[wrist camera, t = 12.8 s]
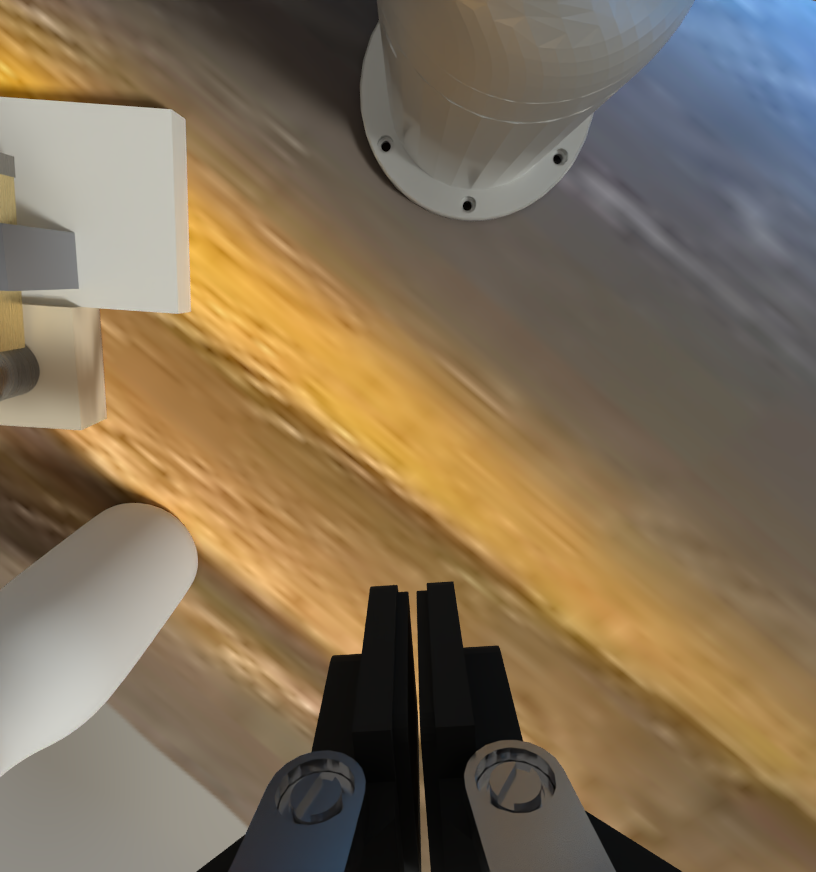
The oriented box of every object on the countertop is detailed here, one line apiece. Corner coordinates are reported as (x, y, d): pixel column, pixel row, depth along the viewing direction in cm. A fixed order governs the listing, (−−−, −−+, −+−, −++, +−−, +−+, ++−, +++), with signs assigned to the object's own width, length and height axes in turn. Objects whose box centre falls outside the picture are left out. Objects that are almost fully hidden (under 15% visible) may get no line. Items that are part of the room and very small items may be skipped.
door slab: (-87, 99, 32) (-243, 43, 25) (185, 119, 33) (115, 70, 25) (-61, 294, 35) (-193, 299, 27) (191, 311, 35) (129, 321, 28)
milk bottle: (106, 480, 38) (-203, 687, 19) (217, 527, 39) (30, 772, 20) (71, 576, 40) (-243, 855, 21) (178, 620, 41) (-29, 926, 22)
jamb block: (-19, 297, 35) (-57, 298, 32) (99, 305, 35) (71, 307, 32) (-5, 410, 37) (-40, 422, 34) (106, 418, 37) (81, 430, 34)
